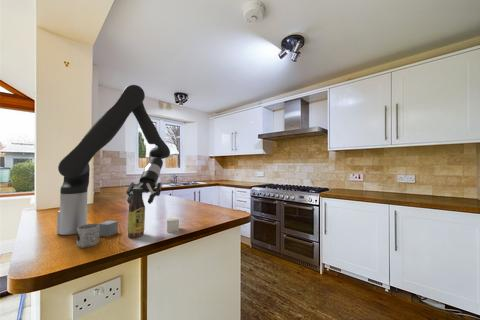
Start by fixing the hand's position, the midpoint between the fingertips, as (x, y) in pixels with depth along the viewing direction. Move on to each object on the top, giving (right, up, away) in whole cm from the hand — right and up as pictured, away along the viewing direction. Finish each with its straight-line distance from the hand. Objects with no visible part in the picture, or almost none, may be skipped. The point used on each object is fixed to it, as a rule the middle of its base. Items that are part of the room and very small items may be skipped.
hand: (139, 202), depth 84 cm
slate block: (-13, -13, -1) cm, 19 cm away
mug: (-13, -13, -13) cm, 22 cm away
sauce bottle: (0, -13, -2) cm, 14 cm away
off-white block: (+13, -14, +5) cm, 19 cm away
